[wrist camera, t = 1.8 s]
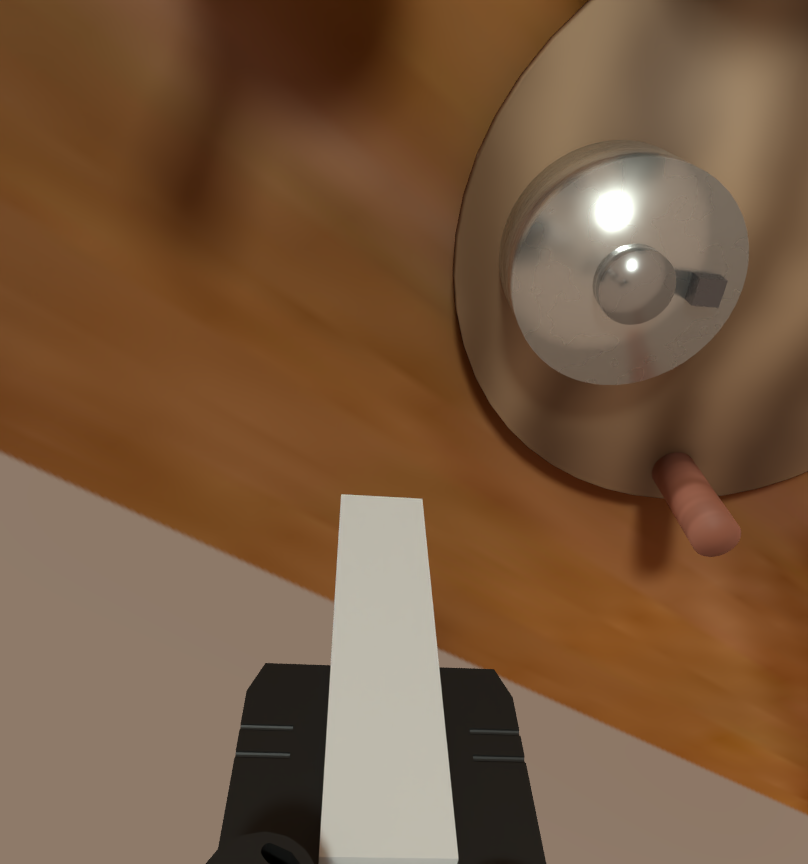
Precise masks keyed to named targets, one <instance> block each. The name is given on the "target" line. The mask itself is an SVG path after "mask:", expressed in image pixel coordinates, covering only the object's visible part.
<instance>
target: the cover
mask: <svg viewBox="0 0 808 864" xmlns="http://www.w3.org/2000/svg"><path fill="white" fill-rule="evenodd" d="M748 262H749V242H748V234H747V229H746V225H745V221H744V218H743V215H742V213H741V211H740V209H739V207H738V204H737V203H736V201H735V200H734V198H733V197H732V195H731V194H730V192H729V191H728V190H727V189H726V188H725V187H724V186H723V185H722V184H721V183H720V182H719V181H718V180H717V179H716V178H714V177H713V176H712V175H710V174H709V173H708V172H706V171H704V170H702V169H700V168H698V167H696V166H694V165H693V164H691V163H689V162H687V161H685V160H683V159H681V158H679V157H677V156H675V155H673V154H671V153H669V152H667V151H665V150H663V149H661V148H659V147H657V146H654V145H651V144H648V143H644V142H638V141H633V140H611V141H602V142H598V143H594V144H590V145H586V146H584V147H581V148H579V149H576V150H574V151H572V152H570V153H568V154H566V155H564V156H562V157H560V158H559V159H557V160H556V161H554V162H553V163H552V164H550V165H549V166H547V167H546V168H545V169H544V170H543V171H542V172H540V173H539V174H538V175H537V176H536V177H535V178H534V179H533V180H532V181H531V182H530V184H529V185H528V186H527V187H526V188H525V189H524V191H523V192H522V194H521V195H520V197H519V198H518V200H517V201H516V203H515V204H514V206H513V208H512V210H511V212H510V214H509V216H508V219H507V221H506V224H505V227H504V230H503V234H502V238H501V242H500V251H499V272H500V278H501V284H502V287H503V290H504V293H505V296H506V298H507V301H508V303H509V305H510V307H511V309H512V312H513V314H514V316H515V318H516V320H517V323H518V325H519V327H520V329H521V331H522V333H523V335H524V337H525V339H526V341H527V342H528V344H529V345H530V347H531V348H532V350H533V351H534V352H535V353H536V354H537V355H538V356H539V357H540V358H541V359H542V360H543V361H544V362H545V363H546V364H548V365H549V366H550V367H551V368H553V369H555V370H556V371H558V372H560V373H561V374H563V375H565V376H568V377H570V378H573V379H575V380H579V381H582V382H586V383H592V384H599V385H621V384H630V383H635V382H639V381H644V380H647V379H650V378H653V377H656V376H659V375H661V374H663V373H665V372H667V371H669V370H672V369H673V368H675V367H677V366H679V365H680V364H682V363H684V362H685V361H687V360H688V359H689V358H691V357H692V356H693V355H695V354H696V353H697V352H699V351H700V350H701V349H702V348H703V347H704V346H705V345H706V344H707V343H708V342H709V341H710V340H711V339H712V338H713V337H714V336H715V335H716V334H717V332H718V331H719V330H720V329H721V327H722V326H723V325H724V323H725V322H726V320H727V319H728V318H729V316H730V314H731V312H732V311H733V309H734V307H735V305H736V303H737V301H738V299H739V296H740V294H741V291H742V289H743V285H744V282H745V278H746V274H747V268H748Z"/></svg>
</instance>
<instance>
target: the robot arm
mask: <svg viewBox="0 0 808 864" xmlns="http://www.w3.org/2000/svg"><path fill="white" fill-rule="evenodd" d="M333 620H334V621H333V634H332V651H331V665H330V666H329V665H302V664H273V663H265V665H264V666H263V668H262V669H261V671H260V672H259V674H258V675H257V677H256V678H255V679H254V681H253V682H252V684H251V686H250V687H249V688H248V690H247V693H246V698H245V703H244V709H243V715H242V720H241V729H240V731H239V736H238V742H237V748H236V756H235V759H234V764H233V770H232V775H231V781H230V786H229V792H228V797H227V803H226V809H225V814H224V820H223V825H222V830H221V836H220V841H219V847H218V850H217V851H216V852H215V853H214V854H213V856H212V857H211V858H210V859H209V860H208V862H207V863H206V864H546V861H545V856H544V851H543V846H542V841H541V836H540V831H539V826H538V822H537V816H536V811H535V806H534V801H533V796H532V792H531V786H530V781H529V777H528V771H527V766H526V763H525V762H524V752H523V747H522V742H521V737H520V736H519V727H518V722H517V717H516V712H515V707H514V702H513V698H512V696H511V695H510V693H509V691H508V690H507V688H506V687H505V685H504V684H503V682H502V681H501V679H500V678H499V676H498V675H497V673H496V672H495V670H494V669H467V668H440V667H439V660H438V650H437V641H436V631H435V621H434V611H433V601H432V591H431V581H430V571H429V561H428V551H427V542H426V532H425V522H424V512H423V502H422V499H415V498H397V497H379V496H361V495H343V494H341V507H340V523H339V539H338V555H337V571H336V586H335V602H334V618H333Z"/></svg>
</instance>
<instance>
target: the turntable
mask: <svg viewBox="0 0 808 864" xmlns="http://www.w3.org/2000/svg"><path fill="white" fill-rule="evenodd" d="M611 140H633V141H638V142H644V143H648V144H651V145H654V146H657V147H659V148H661V149H663V150H665V151H667V152H669V153H671V154H673V155H675V156H677V157H679V158H681V159H683V160H685V161H687V162H689V163H691V164H693V165H694V166H696V167H698V168H700V169H702V170H704V171H706V172H708V173H709V174H710V175H712V176H713V177H714V178H716V179H717V180H718V181H719V182H720V183H721V184H722V185H723V186H724V187H725V188H726V189H727V190H728V191H729V192H730V194H731V195H732V197H733V198H734V200H735V201H736V203H737V204H738V207H739V209H740V211H741V213H742V215H743V218H744V221H745V225H746V229H747V234H748V242H749V262H748V268H747V274H746V278H745V282H744V285H743V289H742V291H741V294H740V296H739V299H738V301H737V303H736V305H735V307H734V309H733V311H732V312H731V314H730V316H729V318H728V319H727V320H726V322H725V323H724V325H723V326H722V327H721V329H720V330H719V331H718V332H717V334H716V335H715V336H714V337H713V338H712V339H711V340H710V341H709V342H708V343H707V344H706V345H705V346H704V347H703V348H702V349H701V350H700V351H699V352H697V353H696V354H695V355H693V356H692V357H691V358H689V359H688V360H687V361H685V362H684V363H682V364H680V365H679V366H677V367H675V368H673V369H672V370H669V371H667V372H665V373H663V374H661V375H659V376H656V377H653V378H650V379H647V380H644V381H639V382H635V383H630V384H621V385H599V384H592V383H586V382H582V381H579V380H575V379H573V378H570V377H568V376H565V375H563V374H561V373H560V372H558V371H556V370H555V369H553V368H551V367H550V366H549V365H548V364H546V363H545V362H544V361H543V360H542V359H541V358H540V357H539V356H538V355H537V354H536V353H535V352H534V351H533V350H532V348H531V347H530V345H529V344H528V342H527V341H526V339H525V337H524V335H523V333H522V331H521V329H520V327H519V325H518V323H517V320H516V318H515V316H514V314H513V312H512V309H511V307H510V305H509V303H508V301H507V298H506V296H505V293H504V290H503V287H502V284H501V278H500V272H499V251H500V242H501V238H502V234H503V230H504V227H505V224H506V221H507V219H508V216H509V214H510V212H511V210H512V208H513V206H514V204H515V203H516V201H517V200H518V198H519V197H520V195H521V194H522V192H523V191H524V189H525V188H526V187H527V186H528V185H529V184H530V182H531V181H532V180H533V179H534V178H535V177H536V176H537V175H538V174H539V173H540V172H542V171H543V170H544V169H545V168H546V167H547V166H549V165H550V164H552V163H553V162H554V161H556V160H557V159H559V158H560V157H562V156H564V155H566V154H568V153H570V152H572V151H574V150H576V149H579V148H581V147H584V146H586V145H590V144H594V143H598V142H602V141H611ZM453 278H454V293H455V306H456V311H457V316H458V321H459V326H460V330H461V335H462V339H463V343H464V347H465V350H466V352H467V355H468V358H469V361H470V363H471V366H472V369H473V371H474V374H475V377H476V379H477V381H478V382H479V384H480V386H481V388H482V390H483V392H484V393H485V395H486V397H487V399H488V401H489V403H490V404H491V406H492V407H493V408H494V410H495V411H496V412H497V414H498V415H499V416H500V418H501V419H502V420H503V421H504V423H505V424H506V425H507V427H508V428H509V429H510V430H511V431H512V432H513V433H514V434H515V435H516V436H517V437H518V438H519V439H520V440H521V441H522V442H523V443H524V444H525V445H526V446H527V447H529V448H530V449H531V450H533V451H534V452H535V453H537V454H538V455H539V456H541V457H542V458H544V459H545V460H546V461H548V462H549V463H550V464H552V465H554V466H555V467H557V468H559V469H561V470H563V471H565V472H567V473H569V474H570V475H572V476H574V477H576V478H578V479H581V480H584V481H586V482H589V483H592V484H594V485H597V486H600V487H602V488H605V489H610V490H614V491H618V492H622V493H627V494H631V495H637V496H646V497H655V498H664V499H665V501H666V502H667V504H668V506H669V507H670V509H671V511H672V512H673V514H674V516H675V518H676V519H677V521H678V523H679V524H680V526H681V528H682V529H683V531H684V533H685V535H686V536H687V538H688V540H689V541H690V543H691V545H692V546H693V548H694V550H695V551H696V552H697V553H698V554H700V555H703V556H708V557H714V556H719V555H722V554H725V553H727V552H728V551H730V550H731V549H733V548H734V547H735V546H736V545H737V543H738V542H739V540H740V537H741V529H740V527H739V525H738V524H737V522H736V521H735V520H734V518H733V517H732V515H731V514H730V512H729V511H728V510H727V508H726V507H725V505H724V504H723V502H722V501H721V500H720V498H719V497H718V496H722V495H728V494H733V493H738V492H743V491H748V490H753V489H757V488H761V487H764V486H767V485H770V484H774V483H777V482H780V481H784V480H787V479H790V478H792V477H795V476H797V475H800V474H802V473H804V472H807V471H808V0H589V1H587V2H586V3H585V4H584V5H583V6H582V7H581V8H580V9H579V10H578V11H577V12H576V13H575V14H574V15H573V16H572V17H571V18H570V19H569V20H568V21H567V22H566V23H565V24H564V25H563V26H562V27H561V28H560V29H559V30H558V31H557V32H556V33H555V34H554V35H553V36H552V37H551V38H550V39H549V40H548V41H547V43H546V44H545V45H544V46H543V48H542V49H541V50H540V51H539V52H538V54H537V55H536V56H535V57H534V59H533V60H532V61H531V62H530V64H529V65H528V66H527V67H526V69H525V70H524V71H523V72H522V74H521V75H520V76H519V78H518V80H517V81H516V83H515V84H514V86H513V88H512V89H511V91H510V92H509V94H508V96H507V97H506V99H505V100H504V102H503V104H502V105H501V107H500V108H499V110H498V112H497V113H496V115H495V117H494V119H493V121H492V123H491V125H490V127H489V130H488V132H487V134H486V136H485V138H484V140H483V142H482V144H481V146H480V149H479V151H478V153H477V155H476V158H475V161H474V164H473V167H472V170H471V173H470V176H469V179H468V182H467V185H466V188H465V191H464V194H463V199H462V204H461V209H460V214H459V219H458V224H457V229H456V234H455V249H454V263H453Z"/></svg>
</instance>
